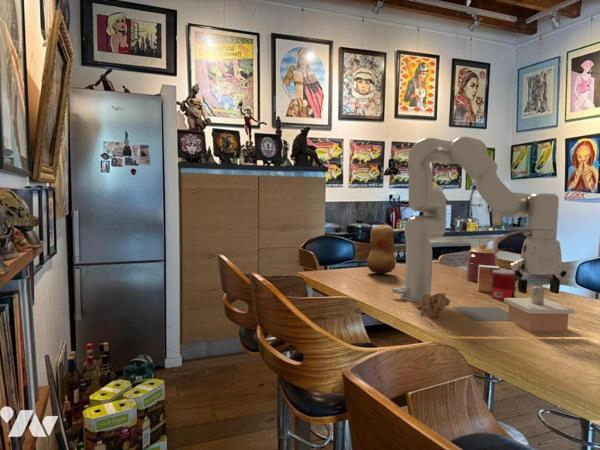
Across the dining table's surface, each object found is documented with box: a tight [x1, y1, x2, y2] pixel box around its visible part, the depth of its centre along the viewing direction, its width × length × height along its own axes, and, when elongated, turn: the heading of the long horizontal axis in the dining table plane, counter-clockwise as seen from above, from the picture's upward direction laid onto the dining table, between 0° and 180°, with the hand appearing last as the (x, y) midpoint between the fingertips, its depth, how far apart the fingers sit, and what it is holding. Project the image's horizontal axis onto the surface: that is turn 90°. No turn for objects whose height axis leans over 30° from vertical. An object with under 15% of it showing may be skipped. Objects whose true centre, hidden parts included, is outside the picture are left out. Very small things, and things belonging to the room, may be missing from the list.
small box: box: [477, 265, 501, 293], centre depth 168 cm, size 8×6×10 cm
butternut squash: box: [366, 224, 396, 276], centre depth 201 cm, size 14×13×25 cm
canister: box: [466, 243, 498, 283], centre depth 190 cm, size 13×13×18 cm
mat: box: [452, 306, 511, 322], centre depth 131 cm, size 16×16×1 cm
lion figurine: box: [417, 292, 451, 319], centre depth 128 cm, size 15×5×9 cm, turn 17°
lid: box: [503, 285, 575, 315], centre depth 119 cm, size 13×13×6 cm
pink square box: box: [508, 304, 569, 333], centre depth 120 cm, size 11×11×6 cm
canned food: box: [490, 269, 517, 302], centre depth 153 cm, size 8×8×11 cm
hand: (538, 292), depth 119 cm, fingers open, 9 cm apart
